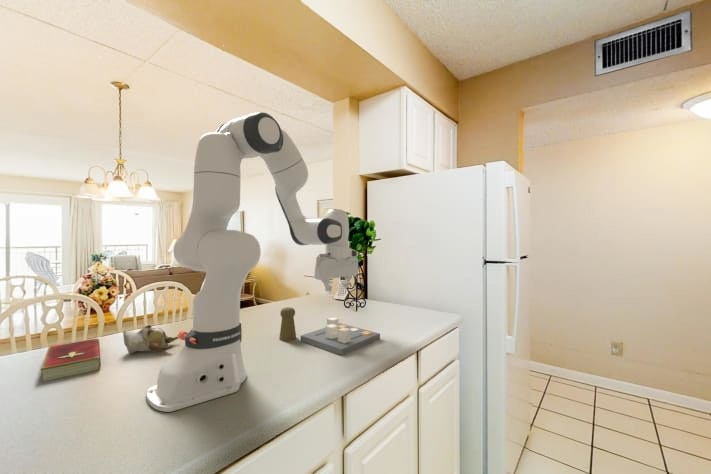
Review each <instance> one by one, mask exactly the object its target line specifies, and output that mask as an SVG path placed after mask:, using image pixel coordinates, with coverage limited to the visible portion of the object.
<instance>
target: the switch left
mask: <svg viewBox="0 0 711 474" xmlns="http://www.w3.org/2000/svg"><path fill="white" fill-rule="evenodd" d="M330 324H333V325H337V326H338V324H339V318H338V317H329V318H327V319H326V326H327V325H330Z"/></svg>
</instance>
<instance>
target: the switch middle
mask: <svg viewBox="0 0 711 474" xmlns="http://www.w3.org/2000/svg"><path fill="white" fill-rule="evenodd" d="M324 328H325V338H329V339H334V338H337V337H338V326H337V325H333V324H330V325H327V324H326V325H325V327H324Z"/></svg>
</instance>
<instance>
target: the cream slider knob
mask: <svg viewBox="0 0 711 474" xmlns="http://www.w3.org/2000/svg"><path fill="white" fill-rule="evenodd" d="M350 341H351V329H348V328H345V327H344V328H341V329H338V342H341V343H344V344H345V343H347V342H350Z"/></svg>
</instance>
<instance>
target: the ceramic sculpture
mask: <svg viewBox="0 0 711 474" xmlns="http://www.w3.org/2000/svg"><path fill="white" fill-rule="evenodd" d="M122 334H123V342H124V343H123V344H124V345H125V347H126V349H127V352H128V354H130V355H131V354H134V353H136V352H137V351H141V352H143V351H144V352H149V353H150V352H151V353H152V352H159V353H162V352H164V351H168V350H170V349H172V348H173V347H174V346H173V345H169V344H171V343H173V342H174V341H177V340H178V339H179V338H178V336H175V337H171V336H168V335H167V334H166V332H165V331H164V330H163V329H162V328H159V327H157V328H156V327H152V325H151V324H149V325H146V326H143V327H142V328H141V329H140V330H139V331H136V332H135V331H132V330H131V331H128V330H123V332H122Z"/></svg>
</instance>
